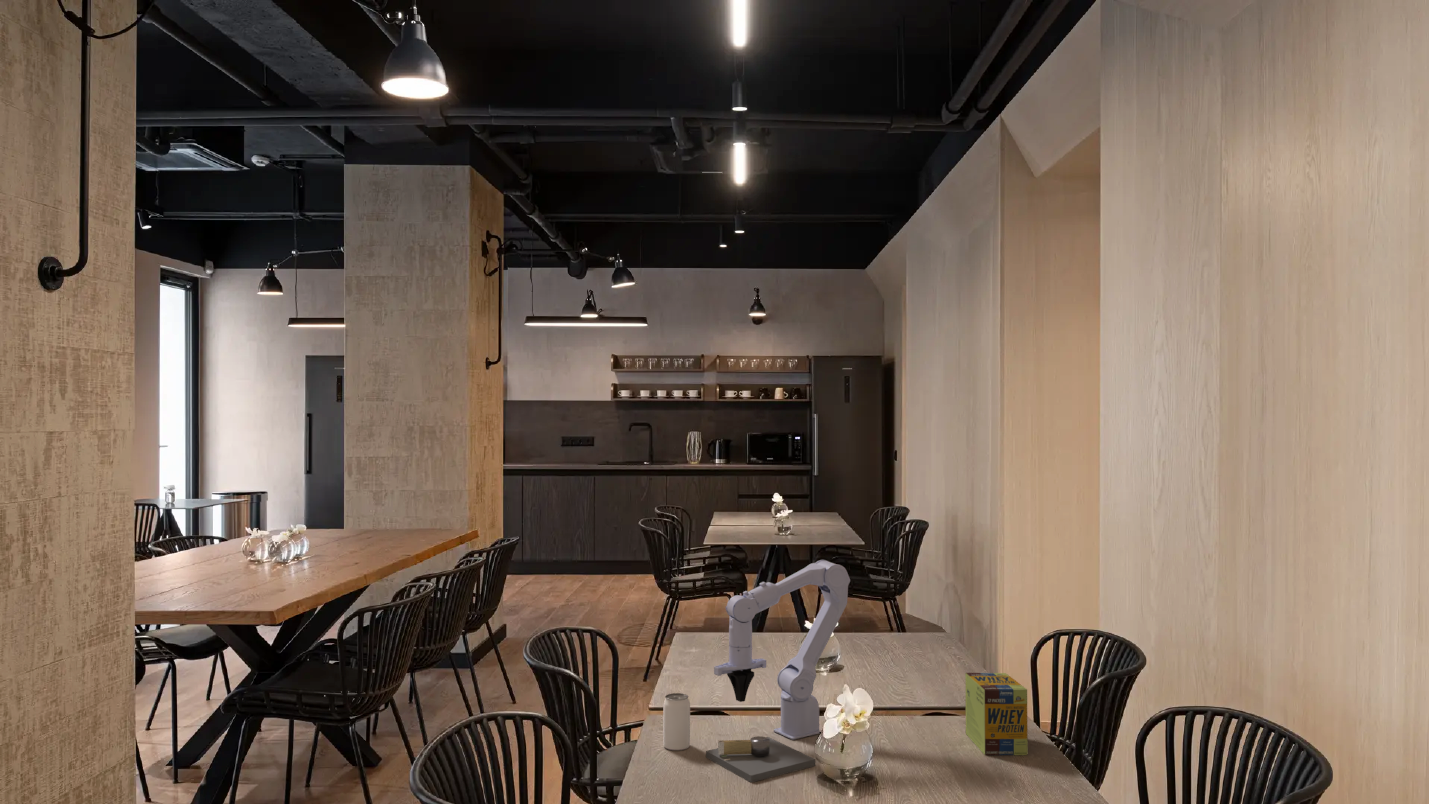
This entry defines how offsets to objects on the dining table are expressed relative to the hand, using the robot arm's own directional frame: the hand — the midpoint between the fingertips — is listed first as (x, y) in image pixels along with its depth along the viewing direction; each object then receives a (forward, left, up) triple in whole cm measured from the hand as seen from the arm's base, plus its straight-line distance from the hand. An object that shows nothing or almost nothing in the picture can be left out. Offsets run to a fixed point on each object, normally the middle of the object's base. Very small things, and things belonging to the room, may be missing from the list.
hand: (740, 700), depth 224 cm
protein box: (-50, +37, -10) cm, 63 cm away
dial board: (+5, +15, -9) cm, 18 cm away
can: (+16, -4, -10) cm, 19 cm away
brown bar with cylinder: (+8, +13, -7) cm, 17 cm away
